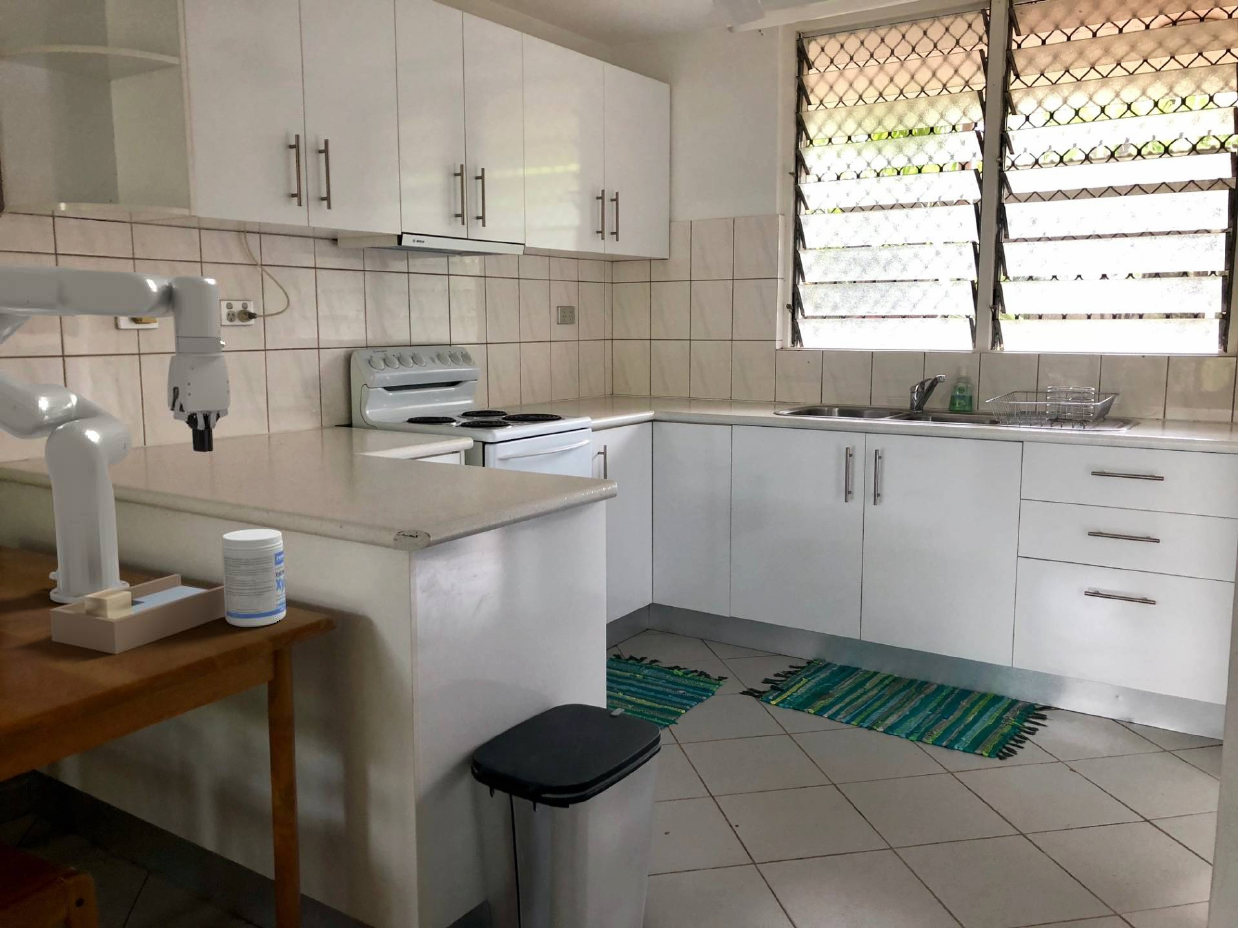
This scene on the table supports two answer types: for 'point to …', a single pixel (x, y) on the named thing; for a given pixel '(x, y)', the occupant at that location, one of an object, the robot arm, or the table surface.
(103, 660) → the table surface
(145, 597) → the box
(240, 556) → the supplement tub
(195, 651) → the table surface
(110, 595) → the maple block
